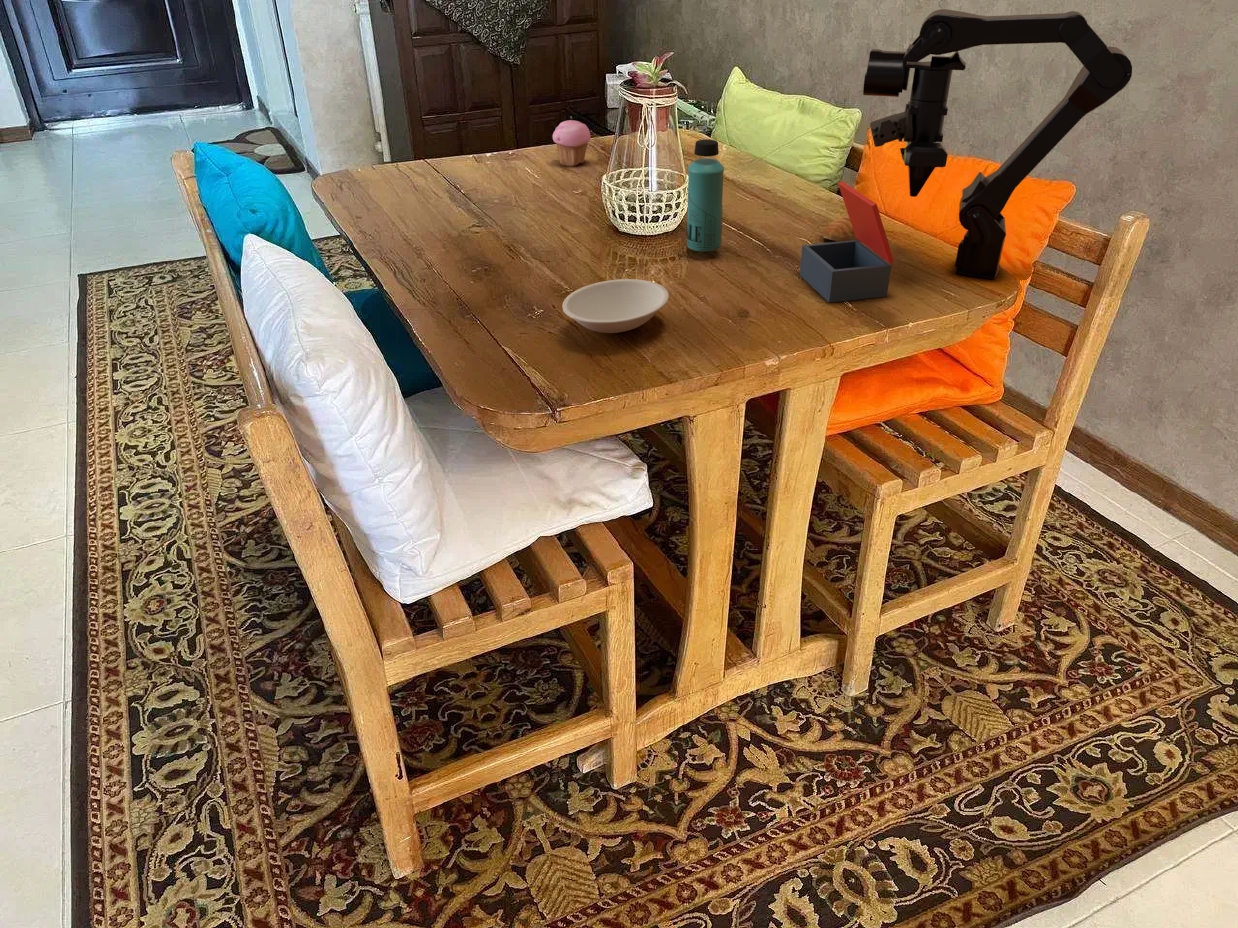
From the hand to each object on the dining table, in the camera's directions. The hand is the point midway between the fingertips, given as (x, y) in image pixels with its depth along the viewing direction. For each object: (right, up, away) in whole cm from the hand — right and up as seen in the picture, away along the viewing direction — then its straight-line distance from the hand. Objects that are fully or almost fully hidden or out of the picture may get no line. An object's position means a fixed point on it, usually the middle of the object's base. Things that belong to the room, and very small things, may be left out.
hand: (913, 196), depth 155 cm
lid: (-10, -6, -6) cm, 14 cm away
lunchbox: (-12, -15, -1) cm, 20 cm away
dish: (-50, -25, -15) cm, 58 cm away
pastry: (-6, -2, +19) cm, 20 cm away
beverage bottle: (-34, -7, +13) cm, 37 cm away
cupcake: (-61, +26, +65) cm, 93 cm away
